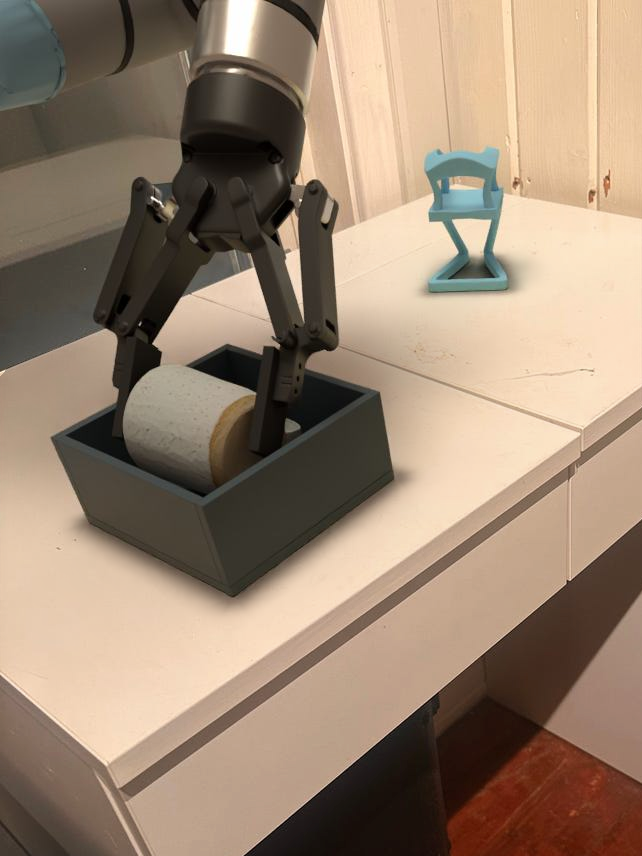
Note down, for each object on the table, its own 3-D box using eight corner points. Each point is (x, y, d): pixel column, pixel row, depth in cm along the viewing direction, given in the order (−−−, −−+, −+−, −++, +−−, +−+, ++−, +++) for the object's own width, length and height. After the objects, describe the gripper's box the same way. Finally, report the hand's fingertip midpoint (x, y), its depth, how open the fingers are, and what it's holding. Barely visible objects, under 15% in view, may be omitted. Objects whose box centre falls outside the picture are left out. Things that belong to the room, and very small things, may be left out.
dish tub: (87, 522, 64) (49, 436, 60) (249, 424, 73) (227, 343, 68) (233, 597, 57) (201, 506, 52) (394, 478, 65) (380, 391, 61)
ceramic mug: (233, 527, 58) (199, 419, 53) (142, 498, 62) (102, 393, 56) (333, 448, 65) (312, 344, 59) (246, 425, 68) (219, 325, 63)
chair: (514, 257, 94) (508, 127, 86) (507, 289, 88) (499, 154, 80) (440, 259, 95) (427, 132, 87) (428, 292, 89) (412, 158, 81)
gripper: (427, 136, 59) (374, 478, 59) (139, 136, 65) (91, 448, 65) (385, 60, 52) (325, 450, 52) (65, 68, 58) (11, 419, 58)
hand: (195, 449), depth 58 cm, fingers closed on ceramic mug, 9 cm apart
